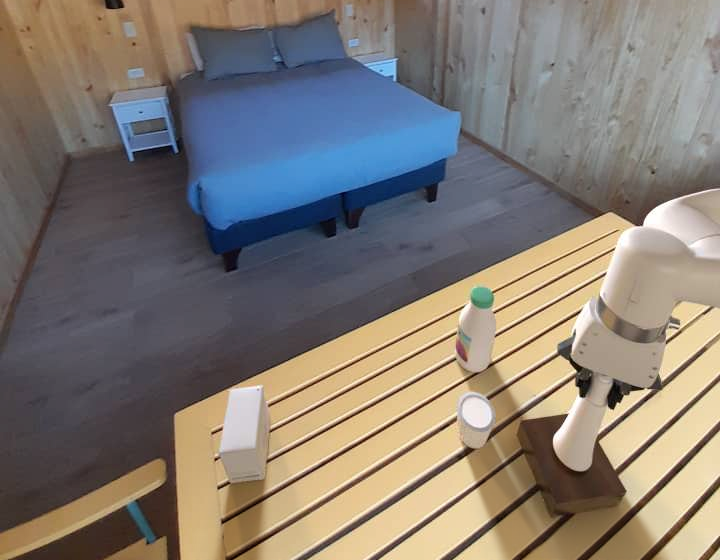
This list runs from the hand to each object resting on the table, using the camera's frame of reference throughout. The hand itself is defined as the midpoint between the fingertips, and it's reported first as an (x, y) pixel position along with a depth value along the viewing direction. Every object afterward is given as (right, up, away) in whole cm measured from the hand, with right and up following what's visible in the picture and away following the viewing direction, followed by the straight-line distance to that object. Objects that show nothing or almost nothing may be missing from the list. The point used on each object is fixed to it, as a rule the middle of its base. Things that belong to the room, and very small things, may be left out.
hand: (595, 393), depth 61 cm
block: (0, -20, +10) cm, 23 cm away
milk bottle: (-11, -11, +29) cm, 33 cm away
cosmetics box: (-56, -20, +14) cm, 61 cm away
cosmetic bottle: (0, -15, +8) cm, 17 cm away
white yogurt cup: (-15, -18, +16) cm, 28 cm away
